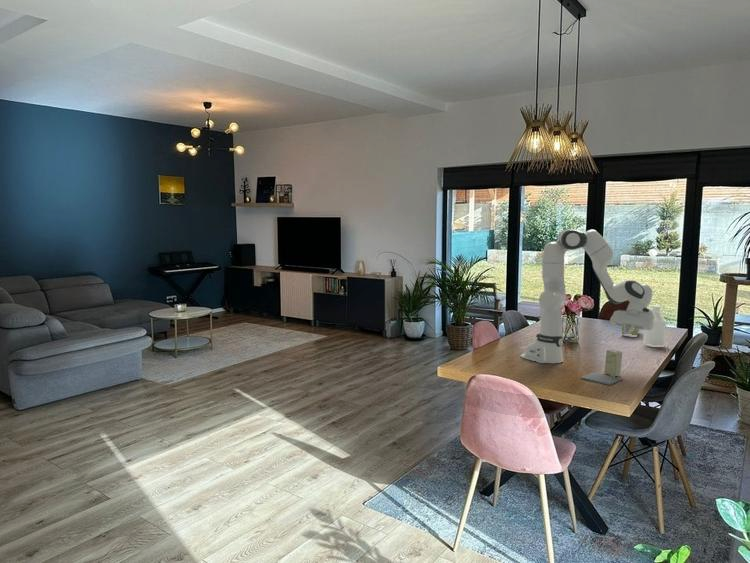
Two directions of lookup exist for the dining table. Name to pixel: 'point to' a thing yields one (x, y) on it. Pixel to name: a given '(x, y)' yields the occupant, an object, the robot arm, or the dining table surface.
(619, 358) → the skincare box
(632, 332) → the cheese
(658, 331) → the bottle
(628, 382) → the dining table surface
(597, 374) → the mat
